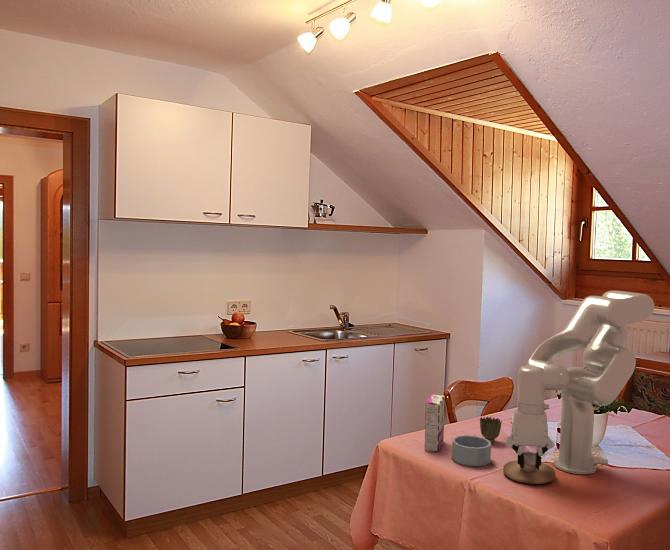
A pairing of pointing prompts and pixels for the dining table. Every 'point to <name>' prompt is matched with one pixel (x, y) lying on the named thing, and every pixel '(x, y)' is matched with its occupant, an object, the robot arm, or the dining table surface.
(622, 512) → the dining table surface
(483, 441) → the bowl
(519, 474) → the lid
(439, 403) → the candy bar box
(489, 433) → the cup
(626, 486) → the dining table surface
